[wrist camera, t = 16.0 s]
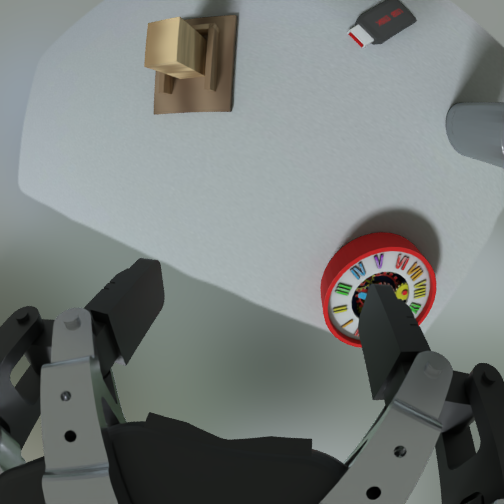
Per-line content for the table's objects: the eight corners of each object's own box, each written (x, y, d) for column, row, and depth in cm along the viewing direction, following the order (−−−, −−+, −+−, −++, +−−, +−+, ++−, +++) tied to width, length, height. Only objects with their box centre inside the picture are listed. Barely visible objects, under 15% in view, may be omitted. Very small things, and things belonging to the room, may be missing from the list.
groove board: (237, 17, 29) (231, 7, 25) (231, 111, 36) (225, 110, 32) (163, 25, 30) (152, 18, 27) (156, 114, 37) (144, 114, 34)
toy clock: (455, 266, 35) (399, 354, 44) (440, 251, 41) (392, 335, 50) (353, 229, 36) (304, 335, 45) (346, 215, 41) (304, 314, 50)
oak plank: (207, 41, 30) (179, 16, 21) (205, 76, 33) (176, 61, 23) (181, 44, 31) (148, 23, 21) (179, 78, 34) (144, 66, 24)
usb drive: (413, 23, 25) (419, 18, 22) (366, 54, 30) (371, 49, 27) (390, 0, 24) (396, -6, 21) (341, 29, 28) (345, 23, 26)
